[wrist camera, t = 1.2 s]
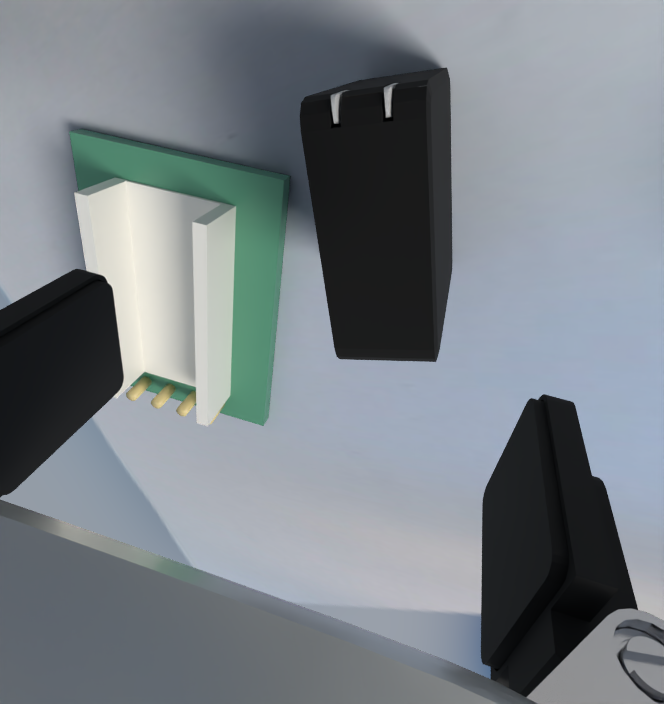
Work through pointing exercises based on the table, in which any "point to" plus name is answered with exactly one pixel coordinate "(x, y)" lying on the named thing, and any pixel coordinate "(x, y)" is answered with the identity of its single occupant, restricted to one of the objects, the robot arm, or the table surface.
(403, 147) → the electronic device
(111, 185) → the board
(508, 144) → the table surface
